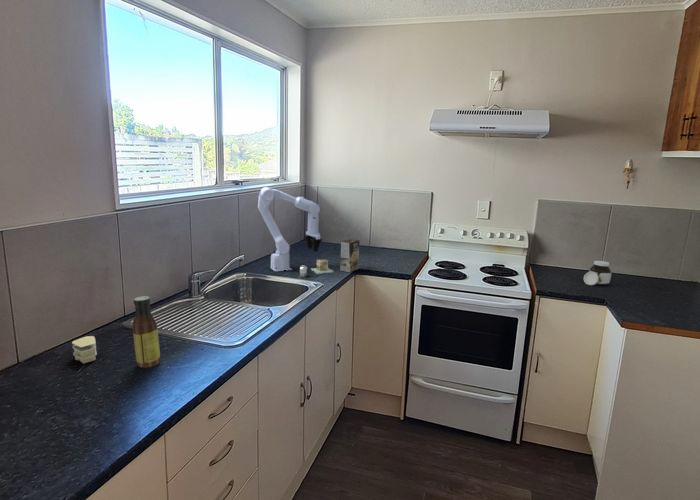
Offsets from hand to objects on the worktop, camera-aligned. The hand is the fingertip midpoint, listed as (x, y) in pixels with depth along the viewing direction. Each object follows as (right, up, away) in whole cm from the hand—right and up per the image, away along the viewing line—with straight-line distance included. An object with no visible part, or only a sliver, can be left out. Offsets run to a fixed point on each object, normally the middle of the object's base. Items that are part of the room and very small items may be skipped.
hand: (312, 250), depth 234 cm
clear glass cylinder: (-3, -13, -15) cm, 20 cm away
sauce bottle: (-38, -33, -110) cm, 121 cm away
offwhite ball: (-4, -10, -8) cm, 13 cm away
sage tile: (+5, -11, -4) cm, 13 cm away
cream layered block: (-57, -32, -107) cm, 126 cm away
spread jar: (+148, -18, -10) cm, 149 cm away
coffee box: (+20, -11, +1) cm, 23 cm away
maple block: (+5, -10, -4) cm, 13 cm away
